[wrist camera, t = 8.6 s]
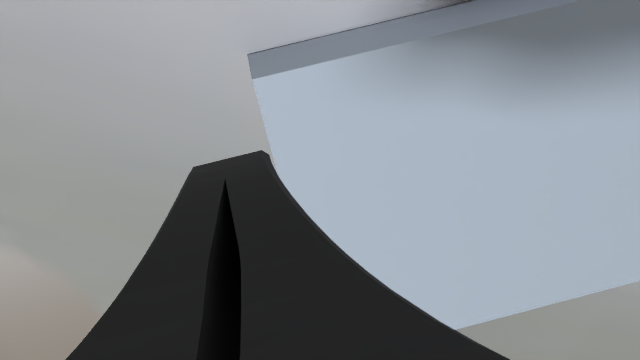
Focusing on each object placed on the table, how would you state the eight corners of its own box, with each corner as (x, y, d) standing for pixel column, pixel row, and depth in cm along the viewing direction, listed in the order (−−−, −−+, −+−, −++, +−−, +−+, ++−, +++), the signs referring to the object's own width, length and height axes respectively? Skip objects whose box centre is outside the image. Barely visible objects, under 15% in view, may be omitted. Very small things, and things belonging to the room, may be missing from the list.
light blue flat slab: (677, -49, 19) (722, -34, 17) (620, 249, 27) (647, 278, 25) (247, 54, 18) (252, 79, 17) (321, 328, 26) (328, 362, 25)
